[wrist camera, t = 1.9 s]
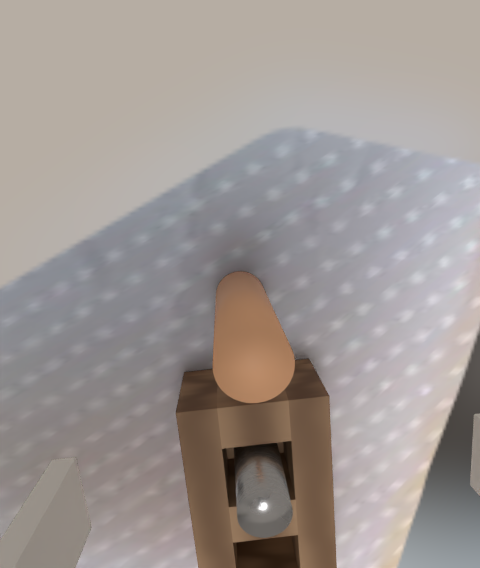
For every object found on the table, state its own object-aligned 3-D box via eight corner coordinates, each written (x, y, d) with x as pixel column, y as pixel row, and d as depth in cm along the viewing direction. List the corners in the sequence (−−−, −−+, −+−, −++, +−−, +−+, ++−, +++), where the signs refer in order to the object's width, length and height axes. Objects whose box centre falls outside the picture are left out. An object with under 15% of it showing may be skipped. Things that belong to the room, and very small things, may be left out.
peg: (218, 320, 35) (217, 407, 21) (213, 273, 34) (208, 331, 20) (265, 315, 36) (297, 398, 21) (262, 268, 35) (292, 322, 20)
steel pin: (234, 451, 37) (239, 540, 28) (230, 414, 37) (234, 494, 27) (275, 446, 38) (294, 534, 28) (272, 410, 37) (291, 487, 27)
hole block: (209, 558, 41) (207, 629, 35) (184, 372, 36) (175, 412, 30) (319, 545, 42) (338, 613, 35) (309, 358, 37) (329, 396, 30)
